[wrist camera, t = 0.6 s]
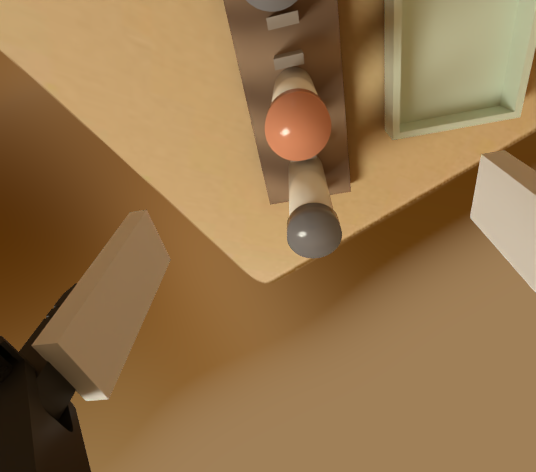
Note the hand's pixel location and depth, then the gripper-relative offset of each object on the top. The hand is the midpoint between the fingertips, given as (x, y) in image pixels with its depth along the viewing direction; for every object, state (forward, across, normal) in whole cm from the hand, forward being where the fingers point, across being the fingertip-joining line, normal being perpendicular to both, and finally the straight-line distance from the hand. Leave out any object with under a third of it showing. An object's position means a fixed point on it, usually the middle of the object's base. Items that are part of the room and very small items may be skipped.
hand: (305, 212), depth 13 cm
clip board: (+22, 0, +1) cm, 22 cm away
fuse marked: (+21, 0, +1) cm, 21 cm away
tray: (+22, +14, +2) cm, 27 cm away
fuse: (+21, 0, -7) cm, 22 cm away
